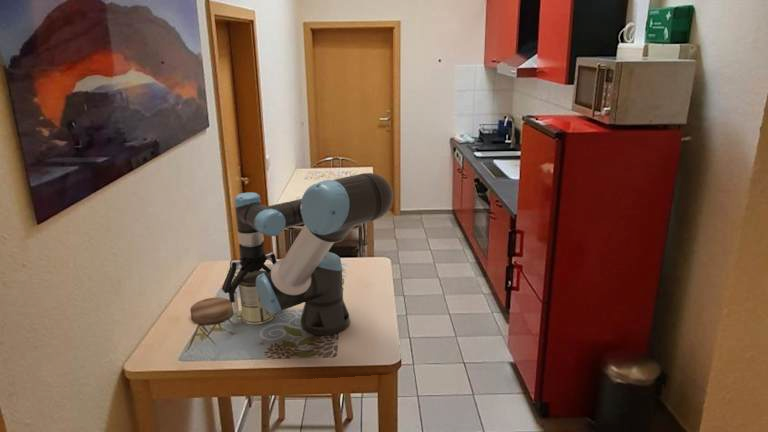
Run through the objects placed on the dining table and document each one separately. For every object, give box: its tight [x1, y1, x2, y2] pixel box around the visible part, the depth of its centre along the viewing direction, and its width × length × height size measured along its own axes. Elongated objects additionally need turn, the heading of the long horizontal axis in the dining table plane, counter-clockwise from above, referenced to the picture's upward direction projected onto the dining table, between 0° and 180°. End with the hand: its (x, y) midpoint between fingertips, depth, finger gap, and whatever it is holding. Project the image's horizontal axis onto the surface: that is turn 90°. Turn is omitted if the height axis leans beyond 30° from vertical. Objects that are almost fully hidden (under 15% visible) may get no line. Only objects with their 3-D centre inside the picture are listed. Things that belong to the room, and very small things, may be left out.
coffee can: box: [238, 270, 276, 325], centre depth 169 cm, size 10×10×14 cm
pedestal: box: [189, 296, 234, 325], centre depth 172 cm, size 13×13×3 cm
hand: (257, 305), depth 170 cm, fingers open, 13 cm apart
